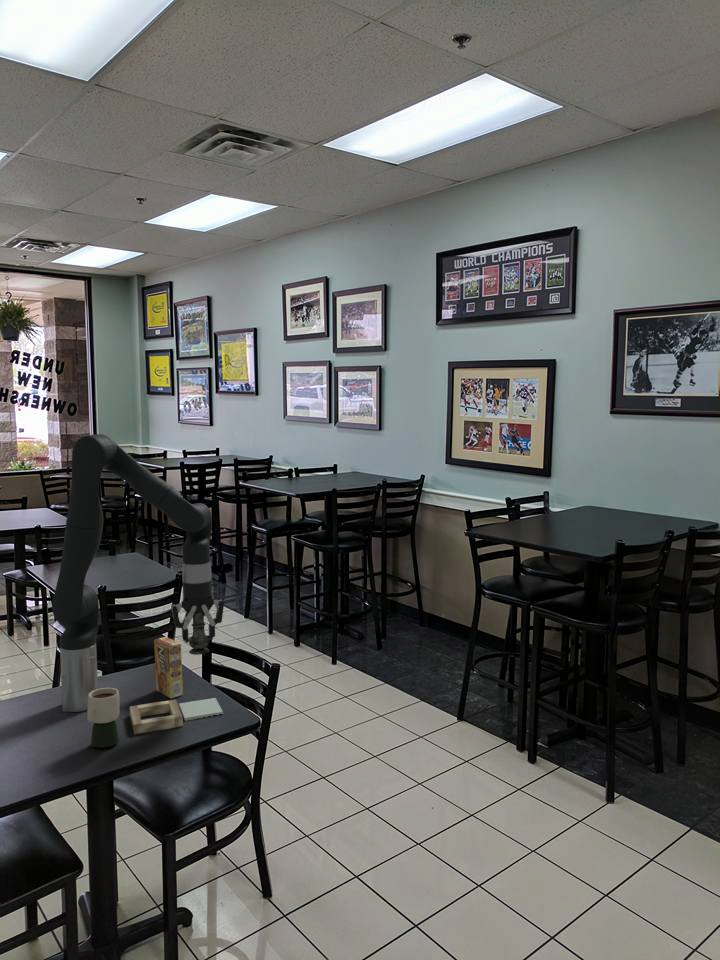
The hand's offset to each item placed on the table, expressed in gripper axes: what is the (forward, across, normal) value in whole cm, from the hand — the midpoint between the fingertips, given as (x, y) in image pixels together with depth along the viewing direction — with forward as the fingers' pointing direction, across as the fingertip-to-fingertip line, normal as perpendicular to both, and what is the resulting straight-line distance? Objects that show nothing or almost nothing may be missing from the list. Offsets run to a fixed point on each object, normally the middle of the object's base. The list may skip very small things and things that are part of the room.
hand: (198, 640), depth 190 cm
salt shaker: (+3, 0, 0) cm, 3 cm away
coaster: (+20, 0, 0) cm, 20 cm away
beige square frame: (+20, +12, +2) cm, 23 cm away
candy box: (+20, +6, -16) cm, 26 cm away
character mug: (+20, +25, +11) cm, 34 cm away
